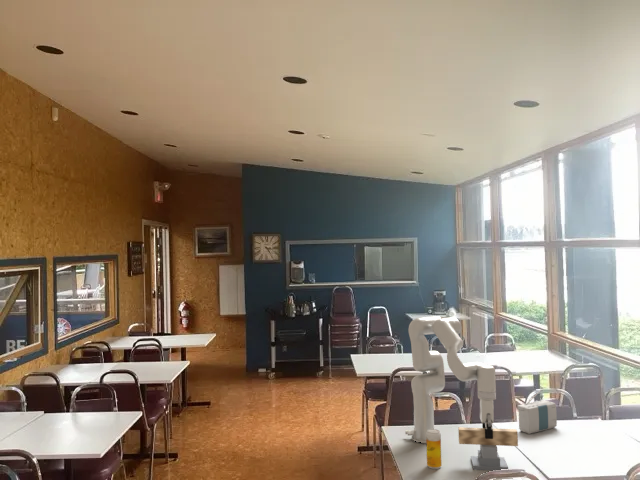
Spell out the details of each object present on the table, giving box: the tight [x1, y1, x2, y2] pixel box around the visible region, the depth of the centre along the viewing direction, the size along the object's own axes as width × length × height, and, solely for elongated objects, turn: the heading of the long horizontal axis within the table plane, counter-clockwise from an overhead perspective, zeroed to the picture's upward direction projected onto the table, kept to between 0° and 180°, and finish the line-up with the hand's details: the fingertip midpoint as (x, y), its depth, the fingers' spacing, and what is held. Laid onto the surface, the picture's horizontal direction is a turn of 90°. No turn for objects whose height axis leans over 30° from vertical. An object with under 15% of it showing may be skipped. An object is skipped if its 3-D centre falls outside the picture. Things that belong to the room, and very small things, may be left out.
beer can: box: [425, 428, 442, 470], centre depth 238 cm, size 6×6×15 cm
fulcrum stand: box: [470, 445, 509, 471], centre depth 238 cm, size 14×12×9 cm
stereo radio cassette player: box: [517, 387, 558, 435], centre depth 287 cm, size 21×8×20 cm, turn 119°
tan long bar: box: [457, 426, 519, 447], centre depth 239 cm, size 24×4×6 cm, turn 79°
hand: (487, 435), depth 239 cm, fingers open, 9 cm apart
